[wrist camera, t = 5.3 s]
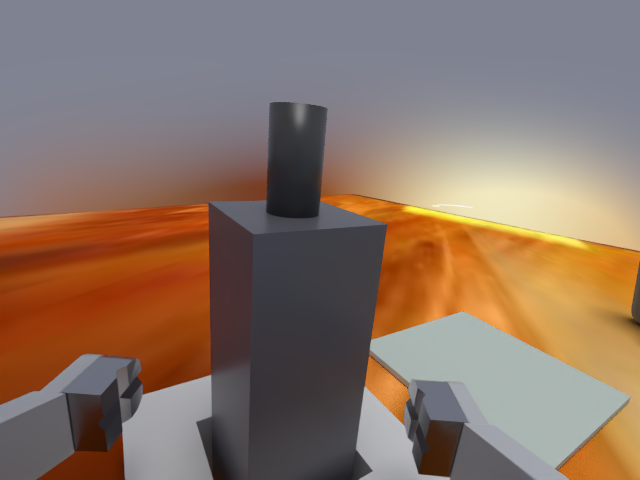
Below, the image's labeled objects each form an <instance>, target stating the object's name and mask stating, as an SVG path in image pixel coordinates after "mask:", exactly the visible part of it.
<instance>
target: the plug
mask: <svg viewBox="0 0 640 480" xmlns="http://www.w3.org/2000/svg"><path fill="white" fill-rule="evenodd" d="M269 111H270V112H269V139H268V169H267V197H266V201H231V202H230V201H229V202H209V261H210V329H211V397H212V465H213V480H352V473H353V466H354V459H355V451H356V444H357V437H358V430H359V423H360V415H361V408H362V401H363V394H364V387H365V379H366V372H367V365H368V358H369V351H370V343H371V336H372V329H373V322H374V315H375V307H376V300H377V293H378V286H379V279H380V271H381V264H382V257H383V250H384V243H385V235H386V228H387V224H384V223H381V222H379V221H376V220H373V219H370V218H367V217H364V216H361V215H358V214H355V213H352V212H349V211H346V210H344V209H341V208H338V207H335V206H332V205H329V204H326V203H323V202H320V196H321V183H322V171H323V158H324V145H325V133H326V120H327V108H325V107H321V106H316V105H310V104H301V103H289V102H274V103H270V110H269Z"/></svg>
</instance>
